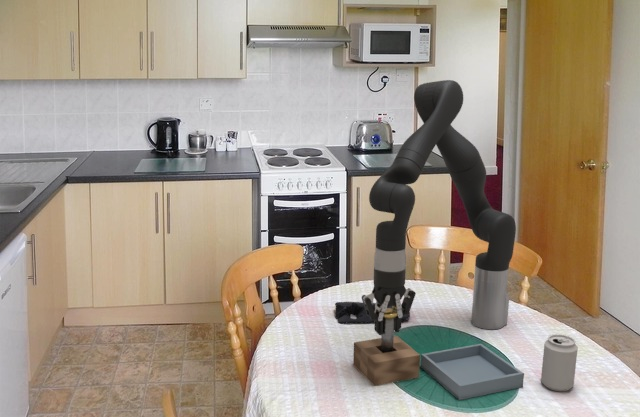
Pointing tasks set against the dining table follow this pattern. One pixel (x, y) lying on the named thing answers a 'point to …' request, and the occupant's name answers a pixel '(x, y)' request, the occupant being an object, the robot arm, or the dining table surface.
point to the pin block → (386, 361)
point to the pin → (388, 330)
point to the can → (559, 362)
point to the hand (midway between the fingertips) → (387, 332)
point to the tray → (471, 371)
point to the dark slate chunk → (356, 312)
